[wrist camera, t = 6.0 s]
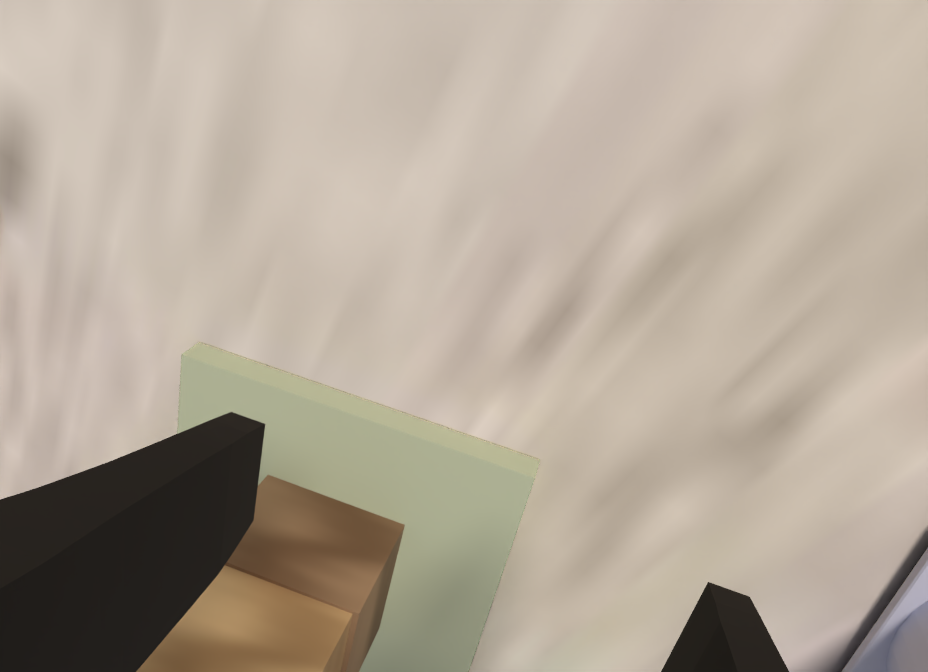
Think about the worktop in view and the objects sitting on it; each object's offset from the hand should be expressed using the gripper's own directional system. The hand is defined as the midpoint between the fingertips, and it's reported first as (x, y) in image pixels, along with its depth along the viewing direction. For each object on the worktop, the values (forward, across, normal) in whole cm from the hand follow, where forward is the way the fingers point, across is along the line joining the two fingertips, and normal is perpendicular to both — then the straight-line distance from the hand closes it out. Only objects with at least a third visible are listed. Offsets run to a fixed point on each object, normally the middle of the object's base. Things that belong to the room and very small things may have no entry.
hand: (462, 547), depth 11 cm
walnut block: (+9, +5, +11) cm, 15 cm away
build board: (+10, +5, +11) cm, 16 cm away
